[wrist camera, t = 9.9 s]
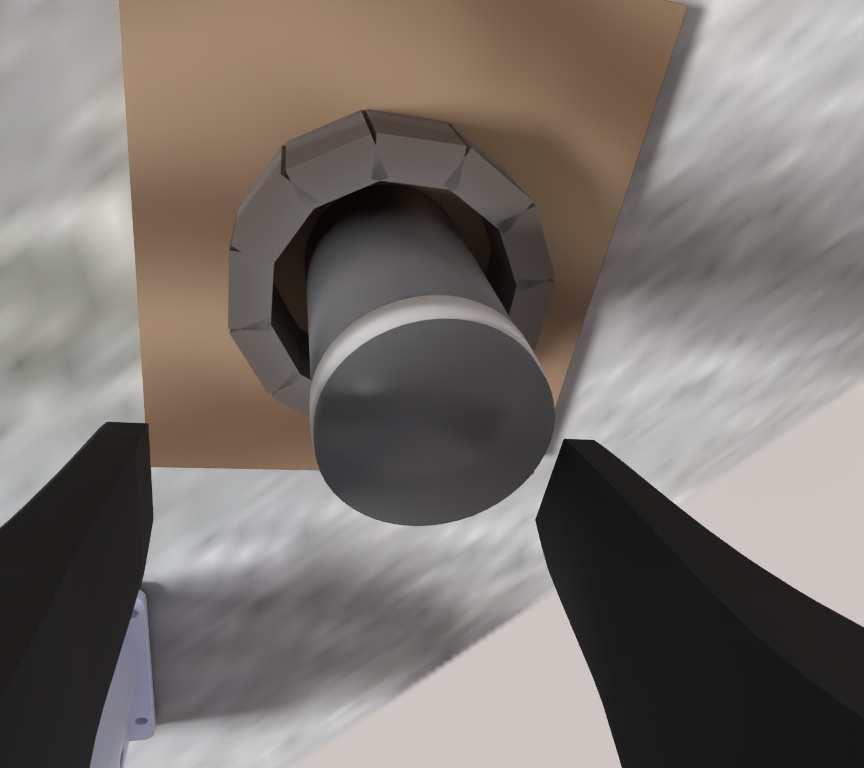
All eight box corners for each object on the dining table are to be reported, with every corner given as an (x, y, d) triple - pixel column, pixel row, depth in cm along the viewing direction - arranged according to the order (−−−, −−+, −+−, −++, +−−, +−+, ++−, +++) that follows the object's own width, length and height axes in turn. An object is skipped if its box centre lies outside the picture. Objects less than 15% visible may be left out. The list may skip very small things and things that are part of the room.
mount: (524, 456, 25) (555, 523, 22) (153, 447, 22) (132, 523, 19) (668, 2, 17) (745, 13, 14) (121, -116, 14) (78, -132, 11)
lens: (447, 338, 20) (523, 527, 14) (297, 327, 19) (301, 527, 13) (478, 192, 18) (588, 336, 11) (309, 172, 17) (322, 316, 10)
